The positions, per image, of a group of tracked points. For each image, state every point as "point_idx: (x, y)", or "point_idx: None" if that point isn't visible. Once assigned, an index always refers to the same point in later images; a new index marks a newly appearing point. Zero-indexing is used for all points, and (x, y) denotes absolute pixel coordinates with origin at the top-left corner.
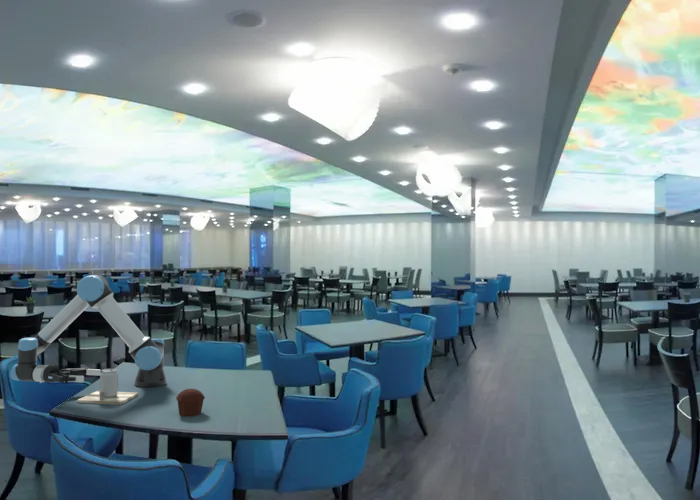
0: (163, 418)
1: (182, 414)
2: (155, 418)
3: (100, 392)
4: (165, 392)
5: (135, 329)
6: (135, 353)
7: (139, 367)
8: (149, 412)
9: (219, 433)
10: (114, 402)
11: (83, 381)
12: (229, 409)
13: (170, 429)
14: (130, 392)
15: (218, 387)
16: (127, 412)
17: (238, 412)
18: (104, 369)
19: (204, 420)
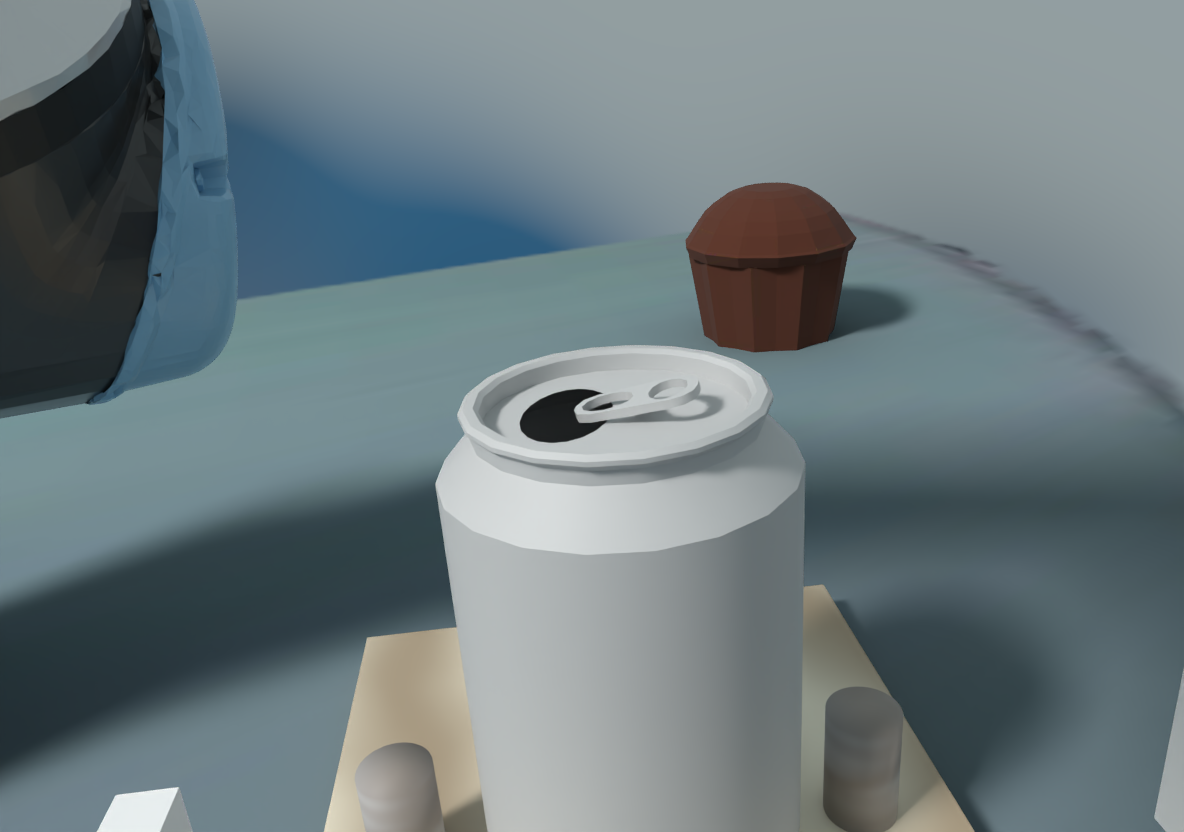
0: (928, 355)
1: (832, 323)
2: (959, 370)
3: (794, 810)
4: (237, 548)
5: None
6: (131, 101)
7: (227, 333)
8: (877, 419)
9: (947, 248)
10: (853, 643)
11: (1181, 796)
12: (623, 294)
13: (1048, 304)
14: (357, 708)
15: (106, 407)
16: (984, 488)
17: (656, 276)
18: (586, 450)
19: None
